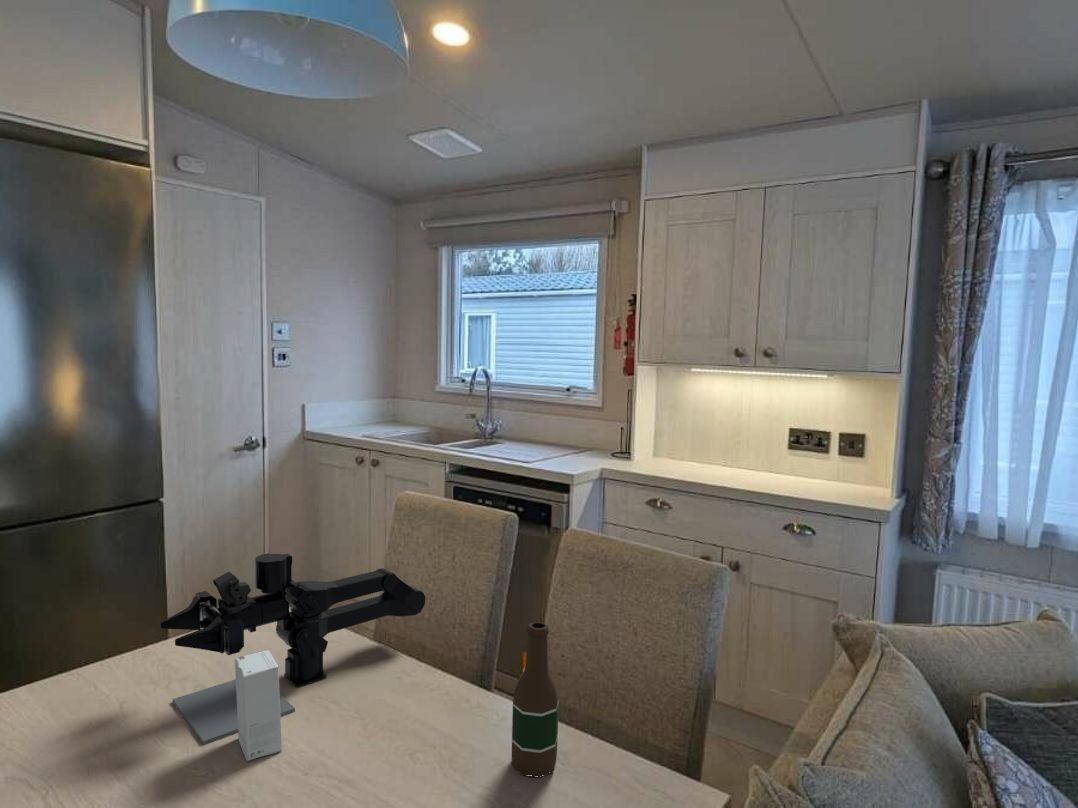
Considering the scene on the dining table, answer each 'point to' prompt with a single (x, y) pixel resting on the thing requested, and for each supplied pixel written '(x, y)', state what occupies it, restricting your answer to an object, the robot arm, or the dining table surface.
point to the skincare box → (258, 704)
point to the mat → (216, 711)
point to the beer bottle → (535, 709)
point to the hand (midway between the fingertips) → (167, 633)
